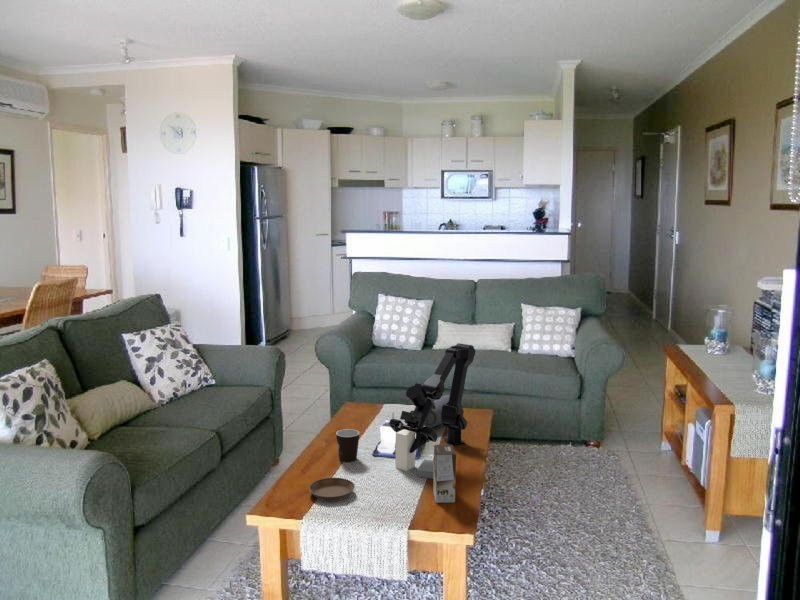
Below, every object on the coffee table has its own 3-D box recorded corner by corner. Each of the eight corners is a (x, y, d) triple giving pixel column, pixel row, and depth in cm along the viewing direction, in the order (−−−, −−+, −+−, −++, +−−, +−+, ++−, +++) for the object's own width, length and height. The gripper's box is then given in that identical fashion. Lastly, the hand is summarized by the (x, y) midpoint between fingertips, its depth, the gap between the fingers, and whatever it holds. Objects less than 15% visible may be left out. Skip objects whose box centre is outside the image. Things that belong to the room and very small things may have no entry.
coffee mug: (356, 464, 248) (356, 437, 246) (333, 462, 249) (333, 436, 248) (364, 452, 259) (364, 427, 257) (342, 451, 261) (342, 425, 259)
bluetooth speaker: (439, 432, 283) (439, 408, 282) (418, 428, 287) (418, 405, 285) (458, 416, 303) (458, 395, 302) (438, 413, 307) (439, 392, 306)
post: (403, 463, 249) (404, 429, 247) (414, 466, 246) (415, 432, 244) (395, 467, 245) (395, 432, 243) (406, 471, 242) (407, 435, 240)
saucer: (313, 506, 214) (313, 498, 213) (305, 487, 228) (305, 480, 227) (359, 501, 218) (359, 493, 218) (349, 483, 232) (349, 475, 232)
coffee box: (455, 502, 217) (456, 454, 215) (435, 503, 216) (436, 454, 214) (451, 490, 226) (452, 444, 224) (432, 491, 226) (433, 444, 223)
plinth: (424, 466, 246) (424, 459, 246) (451, 469, 244) (451, 462, 243) (416, 476, 237) (417, 469, 237) (445, 480, 234) (445, 473, 234)
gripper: (391, 397, 251) (372, 434, 243) (433, 406, 240) (415, 445, 232) (404, 412, 258) (386, 449, 251) (445, 422, 247) (428, 460, 240)
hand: (403, 450), depth 243 cm, fingers open, 6 cm apart
